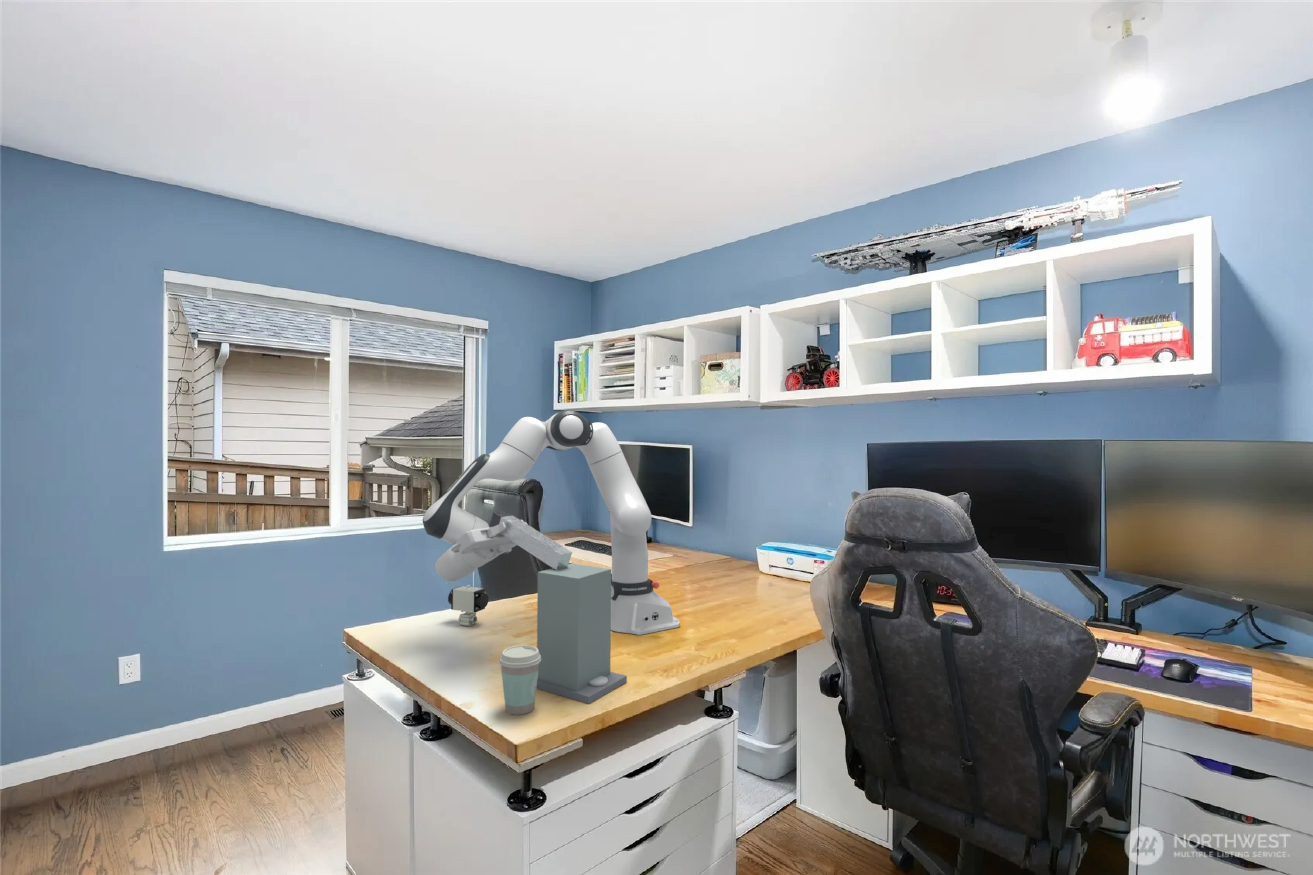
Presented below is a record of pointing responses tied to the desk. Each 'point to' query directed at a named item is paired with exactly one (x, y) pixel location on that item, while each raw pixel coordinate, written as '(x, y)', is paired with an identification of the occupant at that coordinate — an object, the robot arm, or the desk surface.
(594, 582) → the press column
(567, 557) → the lever bar
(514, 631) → the desk surface
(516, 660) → the coffee cup
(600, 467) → the robot arm
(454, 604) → the pneumatic valve
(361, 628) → the desk surface
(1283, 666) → the desk surface
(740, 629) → the desk surface
